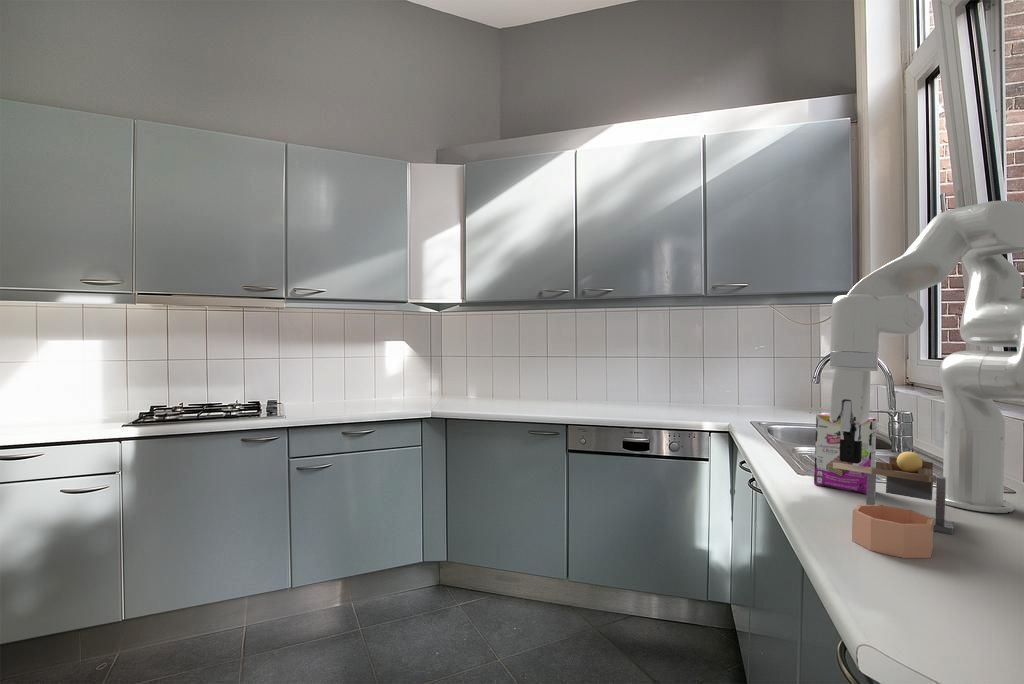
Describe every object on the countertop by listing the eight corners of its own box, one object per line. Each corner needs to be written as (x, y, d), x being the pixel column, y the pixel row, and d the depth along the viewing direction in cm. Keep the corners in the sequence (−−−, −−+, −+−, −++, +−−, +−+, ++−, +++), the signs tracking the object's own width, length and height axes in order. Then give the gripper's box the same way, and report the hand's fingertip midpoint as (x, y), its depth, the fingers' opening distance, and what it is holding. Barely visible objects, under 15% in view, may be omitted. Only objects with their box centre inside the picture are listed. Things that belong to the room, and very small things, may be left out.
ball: (897, 472, 107) (898, 451, 108) (922, 475, 105) (923, 454, 105) (894, 469, 104) (896, 448, 105) (920, 473, 102) (922, 451, 103)
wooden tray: (850, 486, 113) (852, 452, 114) (935, 500, 104) (936, 463, 105) (831, 487, 100) (833, 448, 101) (927, 503, 90) (929, 461, 91)
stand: (861, 510, 107) (862, 464, 107) (953, 527, 97) (955, 477, 97) (857, 515, 103) (858, 468, 103) (952, 534, 94) (953, 482, 94)
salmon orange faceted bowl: (860, 529, 95) (860, 501, 95) (934, 545, 88) (935, 514, 88) (848, 545, 87) (849, 514, 87) (928, 563, 81) (929, 530, 81)
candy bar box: (813, 485, 125) (814, 413, 125) (819, 481, 129) (820, 412, 129) (870, 495, 117) (872, 419, 117) (875, 491, 121) (877, 417, 121)
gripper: (838, 361, 108) (835, 453, 108) (820, 361, 97) (817, 464, 97) (884, 362, 103) (880, 459, 103) (870, 363, 92) (867, 471, 92)
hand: (850, 461), depth 100 cm, fingers closed
